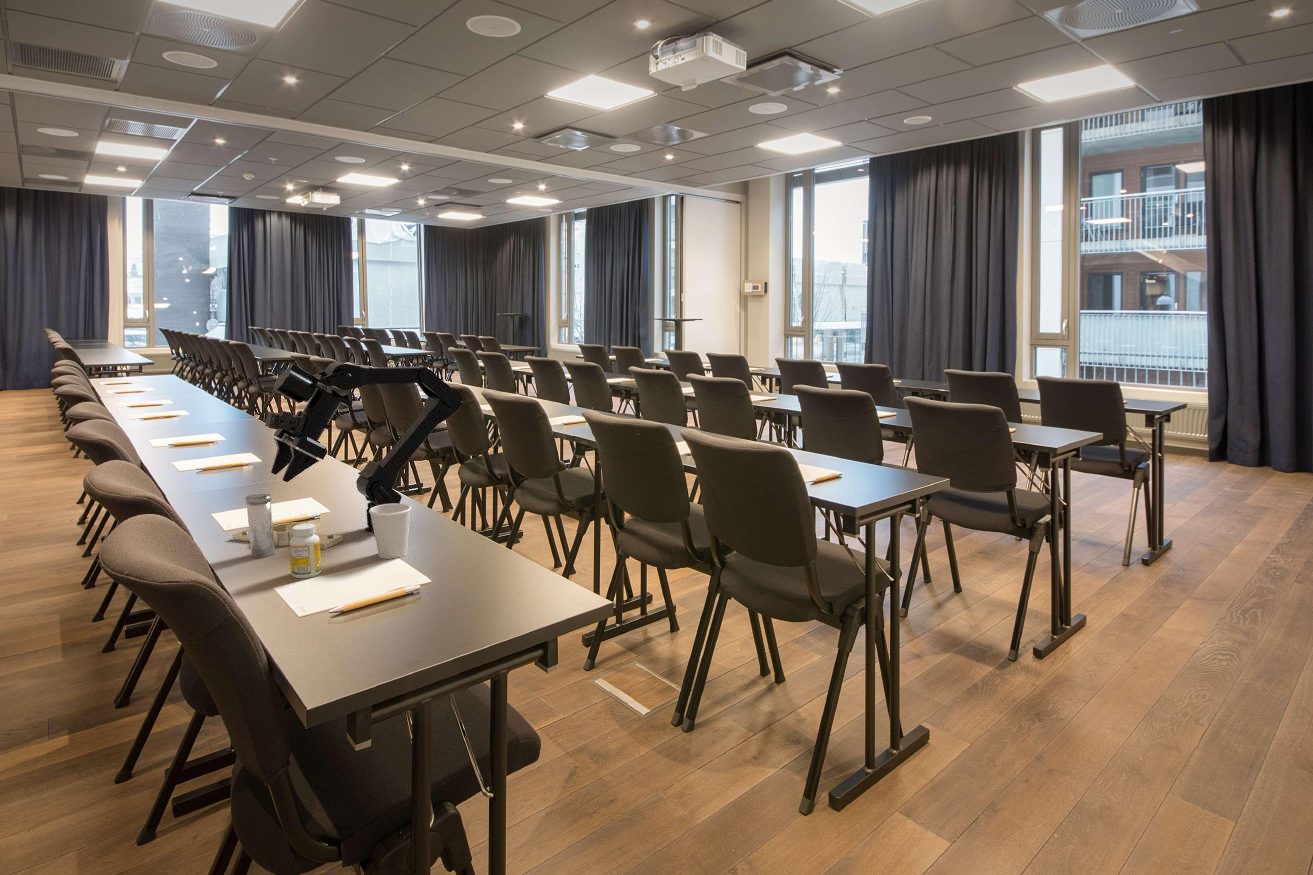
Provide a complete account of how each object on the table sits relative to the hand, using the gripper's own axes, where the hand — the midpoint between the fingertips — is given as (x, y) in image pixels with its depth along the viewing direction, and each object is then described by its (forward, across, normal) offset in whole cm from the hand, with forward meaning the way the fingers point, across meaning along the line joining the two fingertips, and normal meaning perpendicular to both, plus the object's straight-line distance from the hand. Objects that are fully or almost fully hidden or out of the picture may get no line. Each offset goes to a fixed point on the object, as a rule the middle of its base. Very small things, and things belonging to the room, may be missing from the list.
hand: (278, 477), depth 164 cm
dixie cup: (+4, +20, +22) cm, 30 cm away
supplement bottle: (+14, +21, +8) cm, 26 cm away
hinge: (+12, -4, +10) cm, 16 cm away
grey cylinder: (+15, +3, +5) cm, 16 cm away
